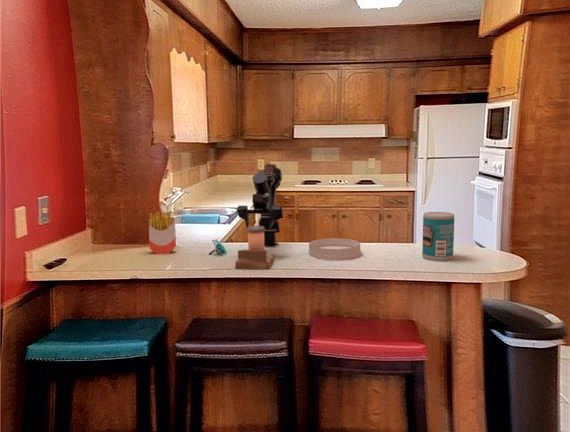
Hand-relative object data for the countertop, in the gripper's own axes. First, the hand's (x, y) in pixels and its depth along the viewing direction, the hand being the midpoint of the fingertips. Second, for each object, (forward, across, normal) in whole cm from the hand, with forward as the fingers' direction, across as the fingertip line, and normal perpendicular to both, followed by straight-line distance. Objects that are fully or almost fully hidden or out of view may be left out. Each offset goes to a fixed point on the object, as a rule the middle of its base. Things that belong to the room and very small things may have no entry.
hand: (258, 228), depth 213 cm
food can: (+5, +72, +14) cm, 74 cm away
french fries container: (+3, -45, +16) cm, 48 cm away
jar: (+13, 0, +5) cm, 14 cm away
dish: (+2, +31, +17) cm, 35 cm away
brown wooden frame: (+15, 0, +3) cm, 15 cm away
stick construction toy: (+3, -20, +16) cm, 26 cm away
